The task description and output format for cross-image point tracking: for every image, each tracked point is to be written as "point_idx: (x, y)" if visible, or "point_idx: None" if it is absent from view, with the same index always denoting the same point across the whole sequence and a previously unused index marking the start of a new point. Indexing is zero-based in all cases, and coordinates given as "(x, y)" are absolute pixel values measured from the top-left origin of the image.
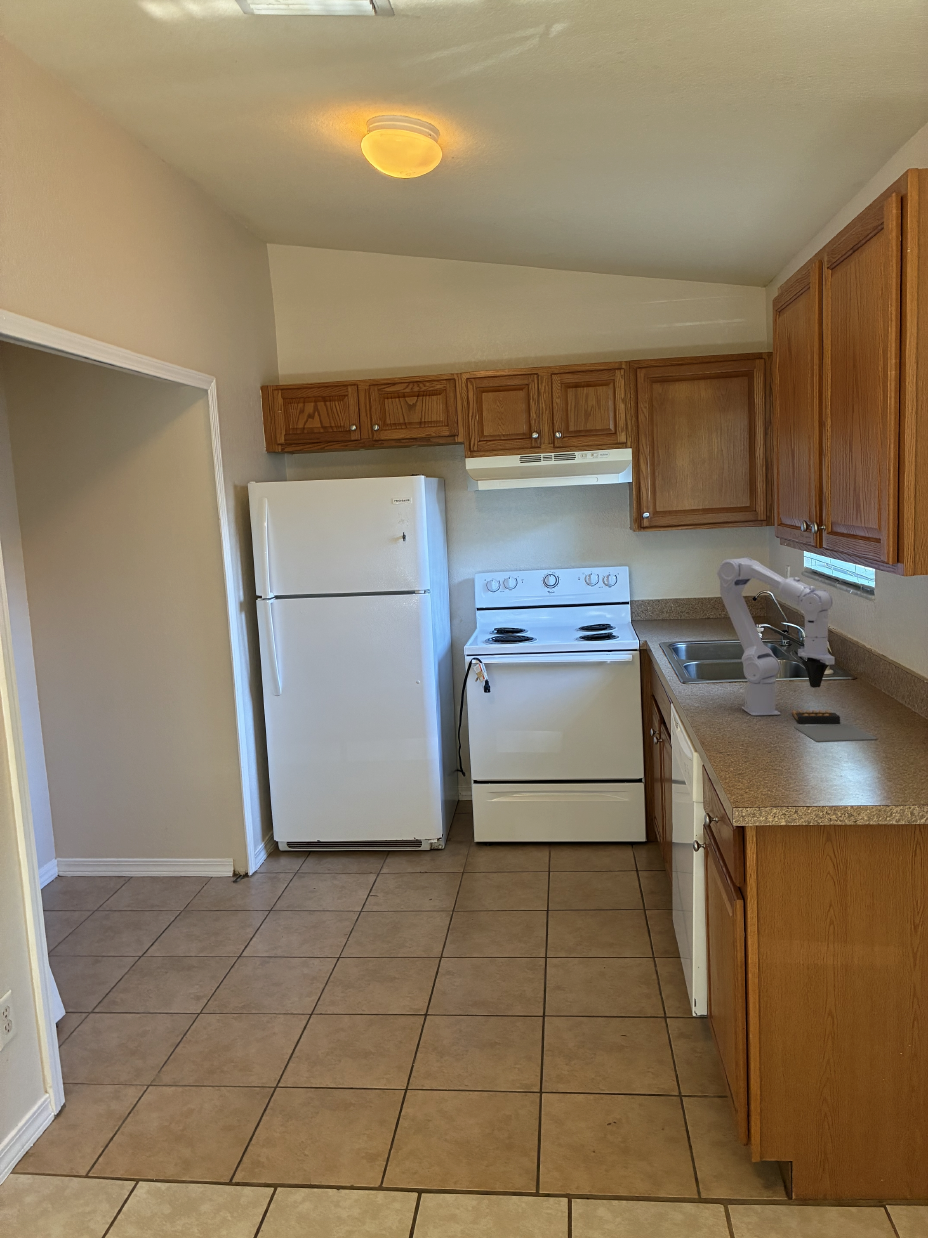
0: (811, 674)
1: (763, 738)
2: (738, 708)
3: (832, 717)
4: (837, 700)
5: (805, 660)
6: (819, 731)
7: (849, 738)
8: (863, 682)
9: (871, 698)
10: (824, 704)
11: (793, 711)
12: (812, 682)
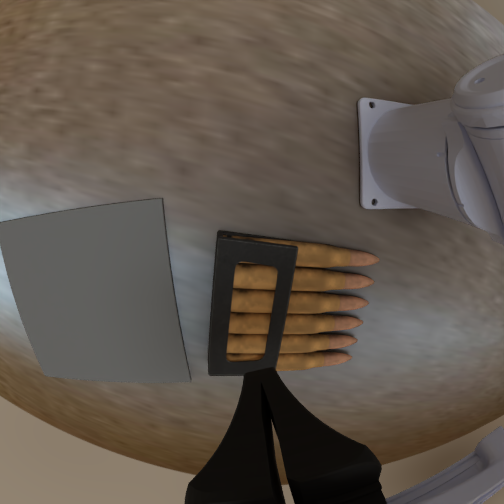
0: (241, 426)
1: (39, 71)
2: None
3: (209, 353)
4: (446, 387)
5: (373, 477)
6: (88, 267)
7: (30, 319)
8: (498, 417)
9: (428, 435)
10: (433, 362)
11: (349, 254)
12: (243, 391)
